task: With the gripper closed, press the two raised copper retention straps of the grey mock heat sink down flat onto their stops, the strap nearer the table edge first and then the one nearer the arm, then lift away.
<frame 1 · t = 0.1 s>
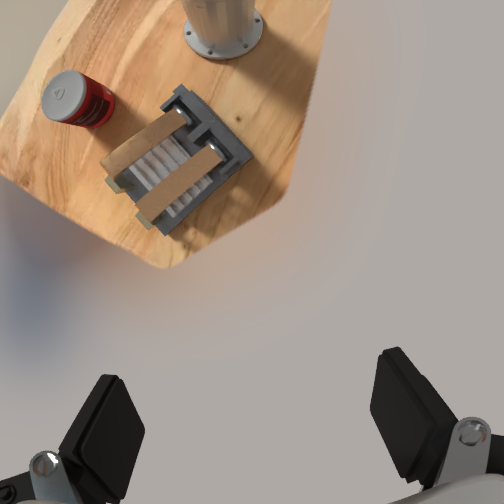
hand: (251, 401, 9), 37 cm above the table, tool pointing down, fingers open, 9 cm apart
canned food: (96, 107, 39), on the table
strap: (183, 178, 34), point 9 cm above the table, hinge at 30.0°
heatsink block: (178, 162, 42), on the table
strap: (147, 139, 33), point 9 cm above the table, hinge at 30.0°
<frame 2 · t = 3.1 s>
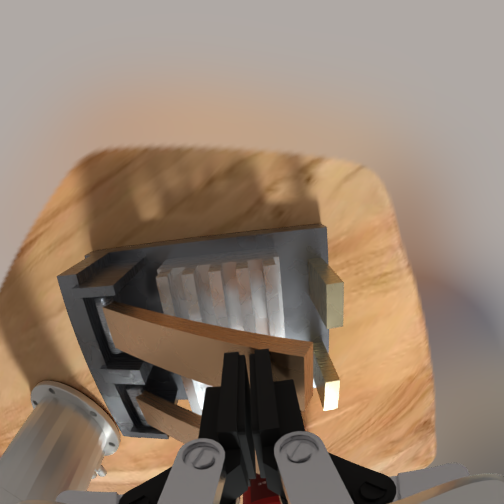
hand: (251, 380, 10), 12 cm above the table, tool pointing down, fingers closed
canned food: (276, 448, 28), on the table
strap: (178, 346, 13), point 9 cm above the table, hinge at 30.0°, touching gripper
heatsink block: (213, 322, 23), on the table
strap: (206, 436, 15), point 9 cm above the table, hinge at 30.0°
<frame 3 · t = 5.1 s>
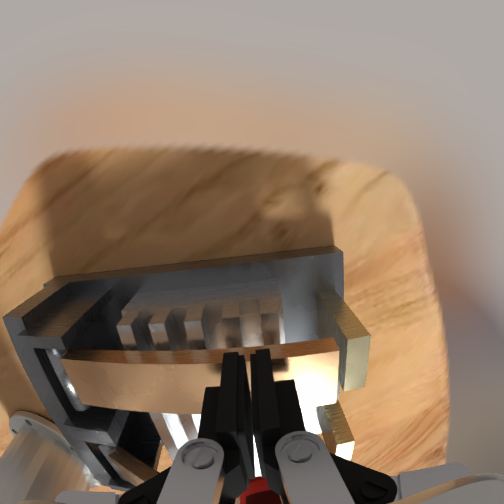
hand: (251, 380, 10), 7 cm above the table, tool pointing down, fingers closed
canned food: (275, 485, 23), on the table
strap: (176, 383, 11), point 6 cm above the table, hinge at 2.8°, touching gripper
heatsink block: (199, 364, 18), on the table
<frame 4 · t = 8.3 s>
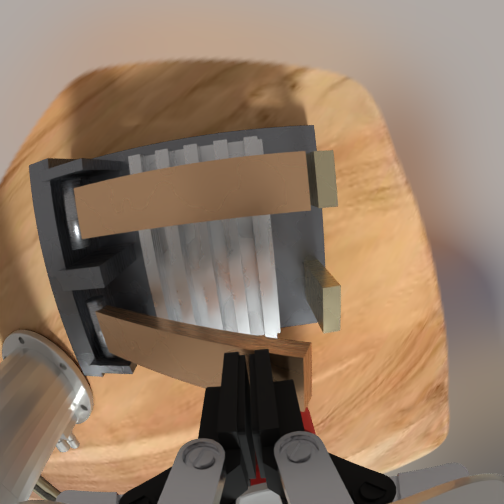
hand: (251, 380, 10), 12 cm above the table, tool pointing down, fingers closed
canned food: (269, 413, 26), on the table
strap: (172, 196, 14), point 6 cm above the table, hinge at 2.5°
heatsink block: (193, 239, 21), on the table
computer: (49, 486, 33), on the table
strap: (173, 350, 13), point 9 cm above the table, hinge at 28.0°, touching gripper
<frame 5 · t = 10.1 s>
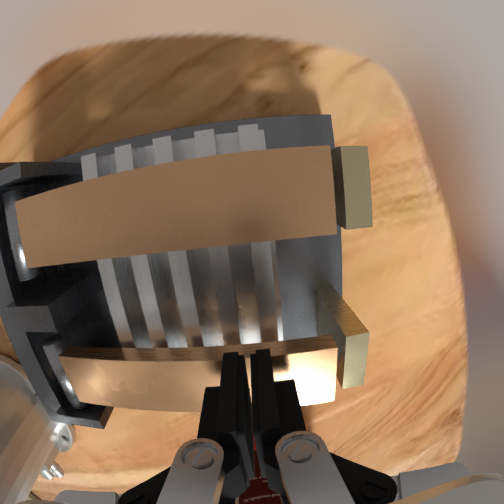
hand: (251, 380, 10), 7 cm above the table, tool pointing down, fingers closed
canned food: (270, 450, 21), on the table
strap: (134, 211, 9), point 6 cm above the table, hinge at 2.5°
heatsink block: (175, 260, 16), on the table
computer: (41, 502, 28), on the table
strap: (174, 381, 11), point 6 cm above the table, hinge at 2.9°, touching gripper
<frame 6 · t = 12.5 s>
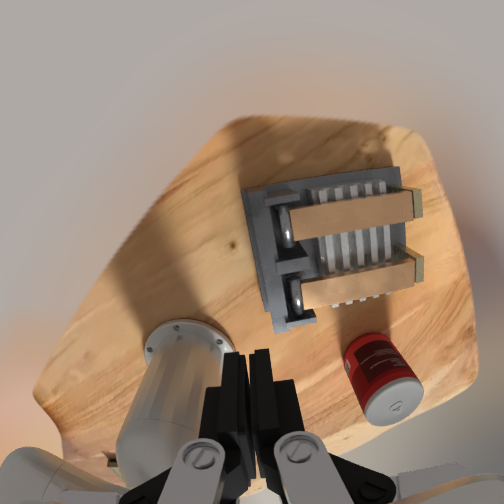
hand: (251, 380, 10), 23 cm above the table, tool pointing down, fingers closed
canned food: (366, 353, 38), on the table
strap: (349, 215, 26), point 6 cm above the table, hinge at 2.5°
heatsink block: (331, 236, 33), on the table
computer: (141, 475, 48), on the table
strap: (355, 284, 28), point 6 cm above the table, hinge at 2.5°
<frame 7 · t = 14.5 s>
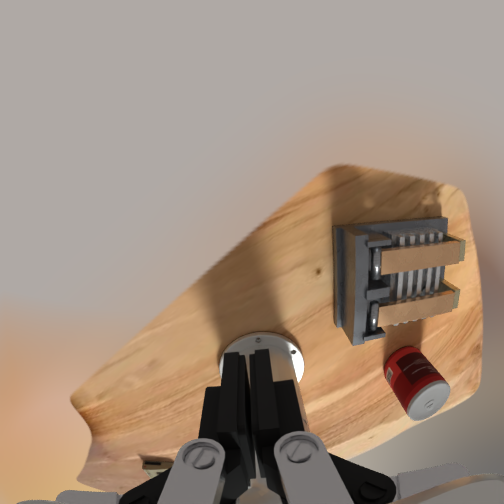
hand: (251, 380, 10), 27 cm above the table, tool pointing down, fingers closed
canned food: (401, 363, 43), on the table
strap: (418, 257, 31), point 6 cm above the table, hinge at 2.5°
heatsink block: (392, 269, 38), on the table
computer: (171, 476, 52), on the table
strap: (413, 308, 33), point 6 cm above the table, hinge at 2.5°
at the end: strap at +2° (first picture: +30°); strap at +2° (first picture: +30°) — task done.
